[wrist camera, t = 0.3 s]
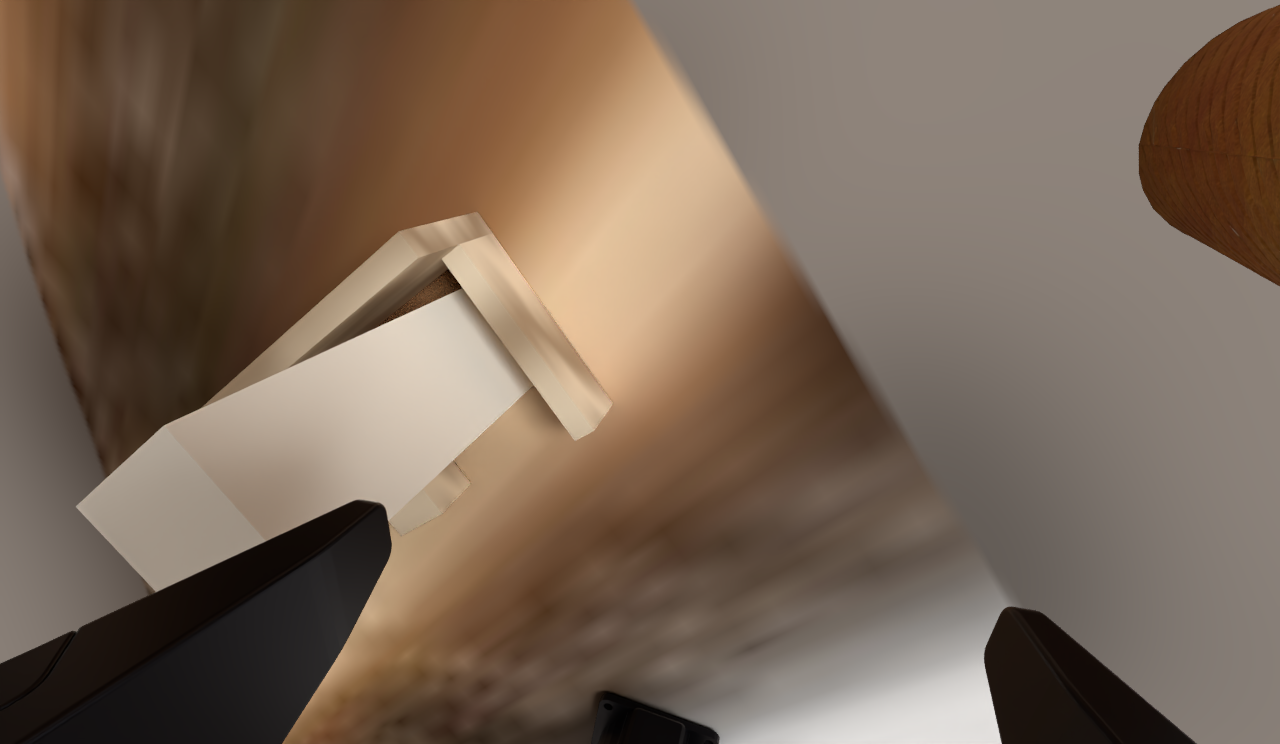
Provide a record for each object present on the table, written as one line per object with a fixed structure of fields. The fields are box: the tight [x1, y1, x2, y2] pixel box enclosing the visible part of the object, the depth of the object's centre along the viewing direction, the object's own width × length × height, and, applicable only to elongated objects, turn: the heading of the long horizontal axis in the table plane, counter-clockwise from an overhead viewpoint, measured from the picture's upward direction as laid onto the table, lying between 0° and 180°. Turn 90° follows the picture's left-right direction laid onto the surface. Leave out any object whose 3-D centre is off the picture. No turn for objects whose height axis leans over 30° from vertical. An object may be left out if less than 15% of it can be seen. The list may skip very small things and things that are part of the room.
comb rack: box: [202, 212, 613, 536], centre depth 26 cm, size 10×21×5 cm, turn 125°
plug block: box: [76, 288, 533, 592], centre depth 20 cm, size 5×5×13 cm
